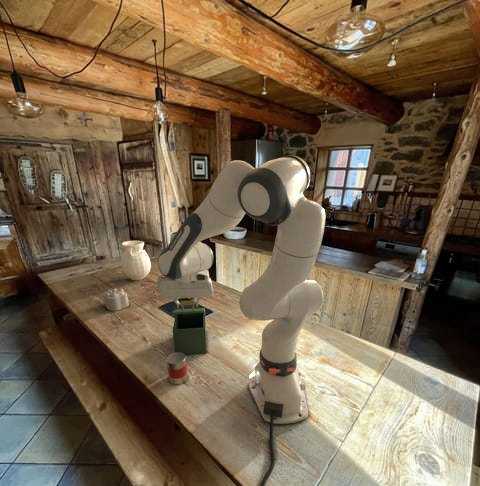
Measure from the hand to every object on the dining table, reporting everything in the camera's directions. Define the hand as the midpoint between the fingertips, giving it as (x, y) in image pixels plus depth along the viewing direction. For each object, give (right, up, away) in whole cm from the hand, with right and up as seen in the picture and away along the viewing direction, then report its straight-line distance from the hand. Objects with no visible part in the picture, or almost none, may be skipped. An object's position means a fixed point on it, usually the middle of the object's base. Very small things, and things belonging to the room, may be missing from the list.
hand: (188, 307), depth 104 cm
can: (-2, -25, -8) cm, 26 cm away
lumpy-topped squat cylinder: (-48, -2, +43) cm, 65 cm away
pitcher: (-51, +14, +81) cm, 96 cm away
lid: (-1, -2, +5) cm, 6 cm away
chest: (-1, -16, +11) cm, 20 cm away
